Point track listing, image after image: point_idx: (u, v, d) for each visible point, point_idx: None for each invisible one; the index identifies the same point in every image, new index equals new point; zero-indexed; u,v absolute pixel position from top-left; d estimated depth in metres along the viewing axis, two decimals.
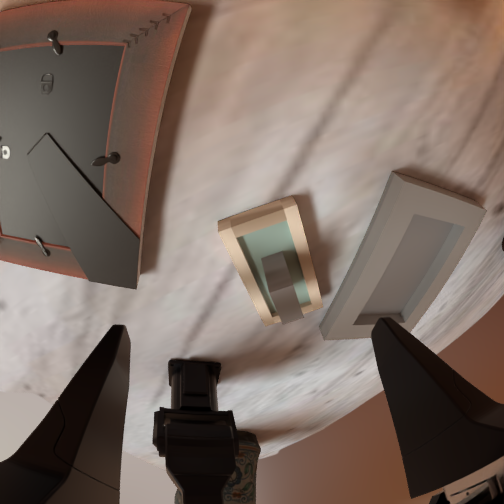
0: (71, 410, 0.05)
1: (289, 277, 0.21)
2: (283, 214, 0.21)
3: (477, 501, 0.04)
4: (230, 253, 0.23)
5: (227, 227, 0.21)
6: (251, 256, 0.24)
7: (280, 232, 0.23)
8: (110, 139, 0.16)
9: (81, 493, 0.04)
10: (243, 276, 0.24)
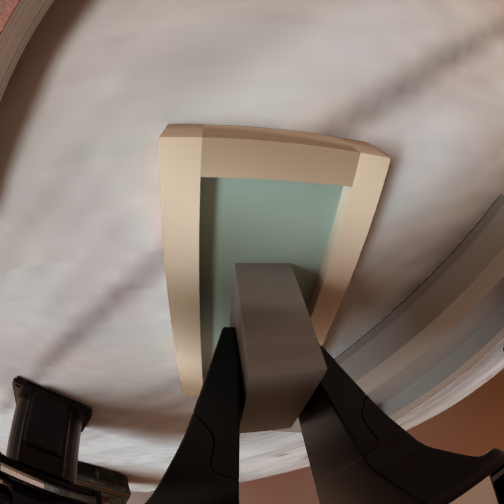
0: (216, 421, 0.06)
1: (314, 341, 0.07)
2: (352, 167, 0.07)
3: None
4: (165, 219, 0.07)
5: (190, 136, 0.06)
6: (214, 250, 0.09)
7: (312, 215, 0.09)
8: None
9: None
10: (174, 293, 0.09)
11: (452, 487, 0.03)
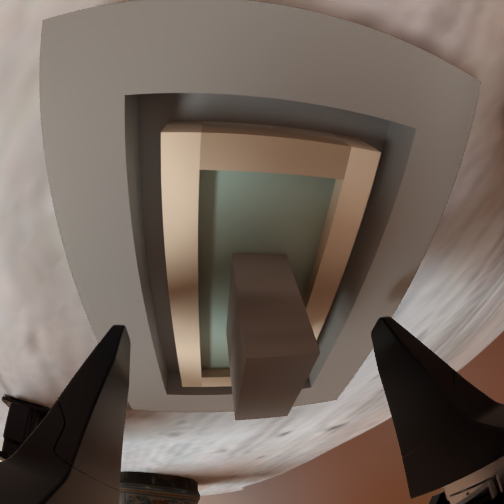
0: (71, 410, 0.05)
1: (308, 326, 0.07)
2: (344, 160, 0.08)
3: (477, 501, 0.04)
4: (166, 210, 0.08)
5: (190, 131, 0.07)
6: (212, 240, 0.09)
7: (306, 207, 0.09)
8: None
9: (81, 493, 0.04)
10: (174, 283, 0.09)
11: None
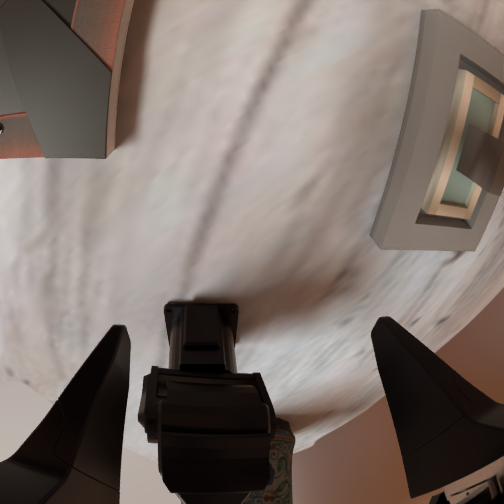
0: (71, 410, 0.05)
1: None
2: (499, 97, 0.14)
3: (477, 501, 0.04)
4: (463, 97, 0.14)
5: (471, 73, 0.13)
6: (465, 116, 0.16)
7: (488, 112, 0.15)
8: None
9: (81, 493, 0.04)
10: (456, 130, 0.16)
11: None
